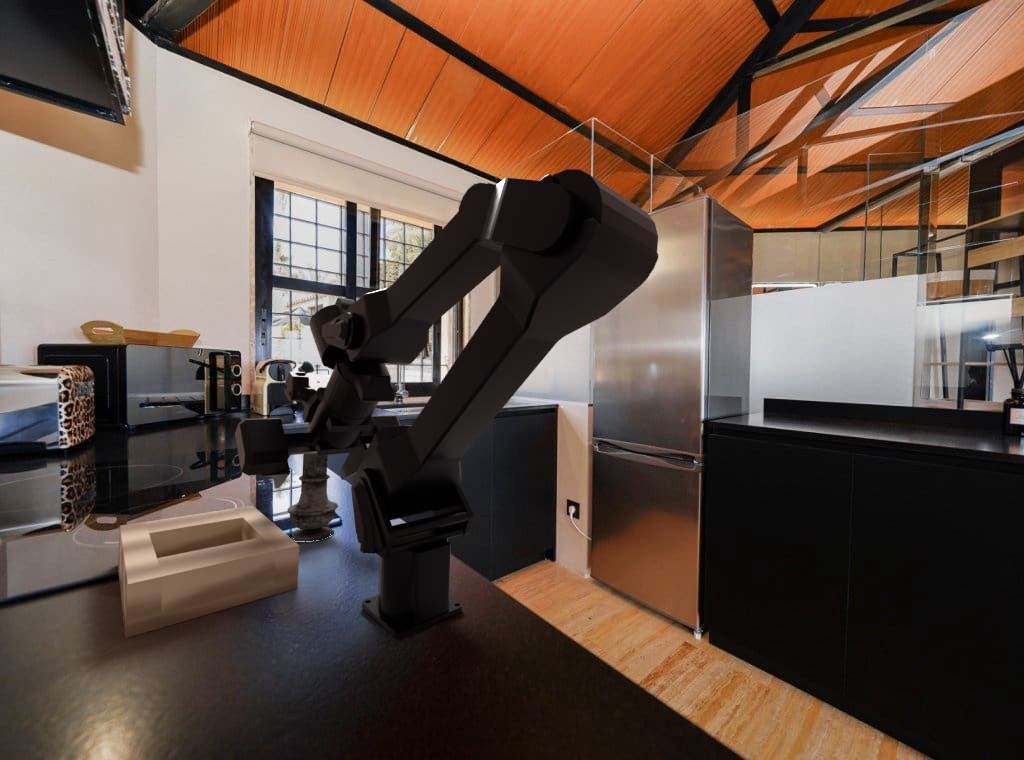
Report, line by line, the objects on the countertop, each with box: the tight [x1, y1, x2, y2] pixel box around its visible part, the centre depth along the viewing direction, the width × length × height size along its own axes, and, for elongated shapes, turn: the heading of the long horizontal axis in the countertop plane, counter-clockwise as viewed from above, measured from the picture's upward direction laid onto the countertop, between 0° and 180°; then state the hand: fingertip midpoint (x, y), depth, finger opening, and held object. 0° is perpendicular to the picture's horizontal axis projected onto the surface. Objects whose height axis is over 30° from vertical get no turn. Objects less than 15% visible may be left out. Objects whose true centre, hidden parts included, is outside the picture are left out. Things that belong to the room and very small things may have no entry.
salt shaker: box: [287, 453, 339, 542], centre depth 53 cm, size 6×6×12 cm
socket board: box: [117, 505, 300, 639], centre depth 41 cm, size 17×12×4 cm
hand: (310, 480), depth 54 cm, fingers open, 8 cm apart
